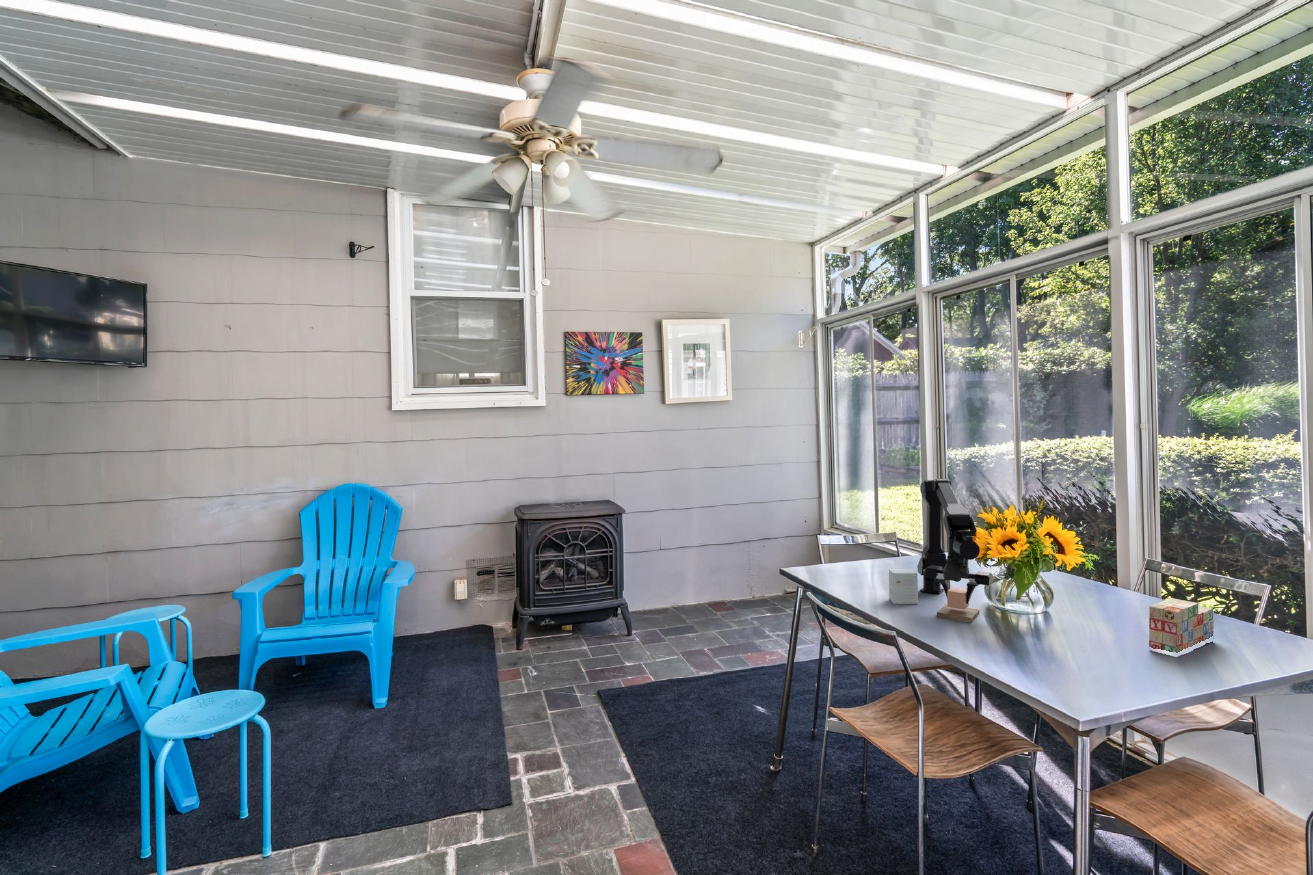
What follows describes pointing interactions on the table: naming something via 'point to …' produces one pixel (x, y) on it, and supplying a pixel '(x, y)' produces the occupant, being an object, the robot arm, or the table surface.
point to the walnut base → (958, 614)
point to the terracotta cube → (957, 598)
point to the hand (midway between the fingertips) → (958, 602)
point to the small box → (903, 586)
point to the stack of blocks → (1179, 624)
